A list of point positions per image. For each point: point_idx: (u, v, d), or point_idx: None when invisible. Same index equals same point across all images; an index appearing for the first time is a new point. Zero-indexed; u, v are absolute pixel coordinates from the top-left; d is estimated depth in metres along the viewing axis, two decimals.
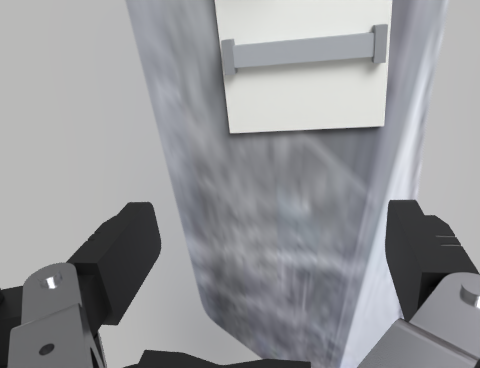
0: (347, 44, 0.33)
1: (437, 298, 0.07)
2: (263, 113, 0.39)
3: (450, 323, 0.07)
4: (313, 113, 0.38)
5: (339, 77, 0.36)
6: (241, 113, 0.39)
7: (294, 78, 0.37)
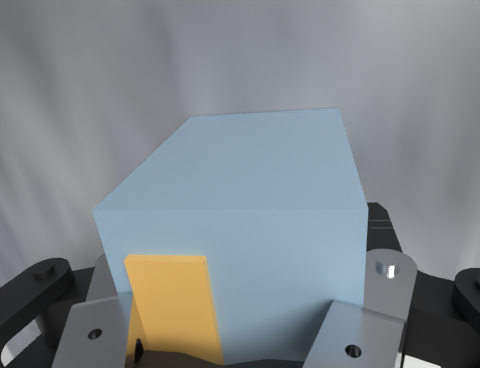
0: None
1: None
2: None
3: (374, 295, 0.07)
4: None
5: None
6: None
7: None
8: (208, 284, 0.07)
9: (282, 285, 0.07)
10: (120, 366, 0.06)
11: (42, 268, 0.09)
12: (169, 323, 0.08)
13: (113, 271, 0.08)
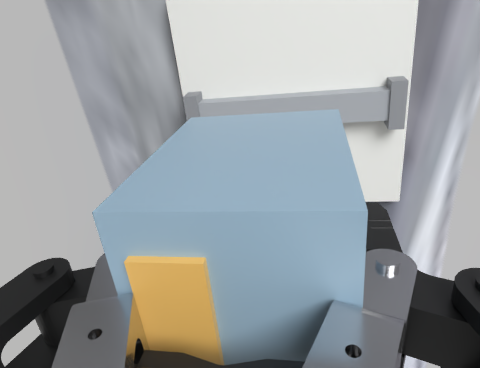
0: (352, 104, 0.24)
1: None
2: None
3: (374, 295, 0.07)
4: None
5: None
6: None
7: None
8: (208, 286, 0.07)
9: (281, 286, 0.07)
10: (120, 366, 0.06)
11: (42, 269, 0.09)
12: (169, 324, 0.08)
13: (114, 272, 0.08)
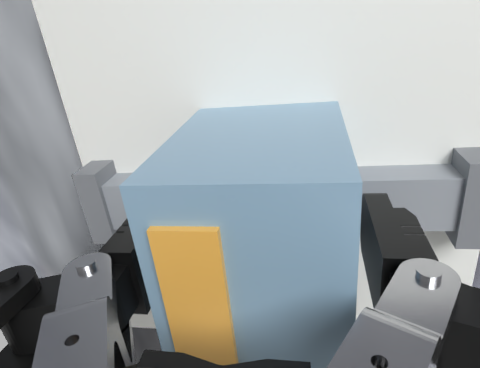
0: None
1: (396, 284, 0.08)
2: None
3: (410, 306, 0.07)
4: None
5: (360, 251, 0.15)
6: None
7: None
8: (221, 252, 0.08)
9: (286, 252, 0.08)
10: (103, 367, 0.06)
11: (7, 276, 0.09)
12: (185, 289, 0.09)
13: (136, 241, 0.08)
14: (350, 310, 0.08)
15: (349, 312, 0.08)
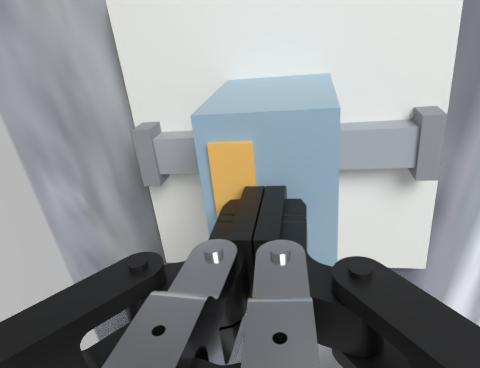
0: (365, 145, 0.17)
1: (260, 270, 0.08)
2: None
3: (278, 284, 0.08)
4: None
5: (348, 191, 0.20)
6: (182, 235, 0.23)
7: None
8: (253, 157, 0.13)
9: (295, 157, 0.13)
10: None
11: (137, 263, 0.09)
12: (229, 185, 0.13)
13: (198, 154, 0.13)
14: (335, 196, 0.13)
15: (334, 198, 0.13)
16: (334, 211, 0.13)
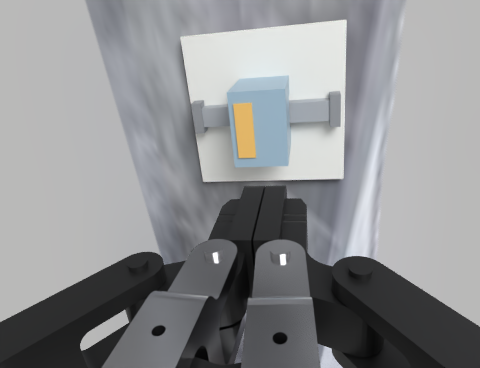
0: (305, 110, 0.36)
1: (260, 270, 0.08)
2: (232, 165, 0.42)
3: (278, 284, 0.08)
4: (278, 166, 0.41)
5: (301, 136, 0.39)
6: (213, 164, 0.42)
7: None
8: (252, 109, 0.32)
9: (268, 109, 0.32)
10: None
11: (137, 263, 0.09)
12: (241, 122, 0.32)
13: (229, 108, 0.32)
14: (285, 126, 0.32)
15: (285, 126, 0.32)
16: (285, 132, 0.32)
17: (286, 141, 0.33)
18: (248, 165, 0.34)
